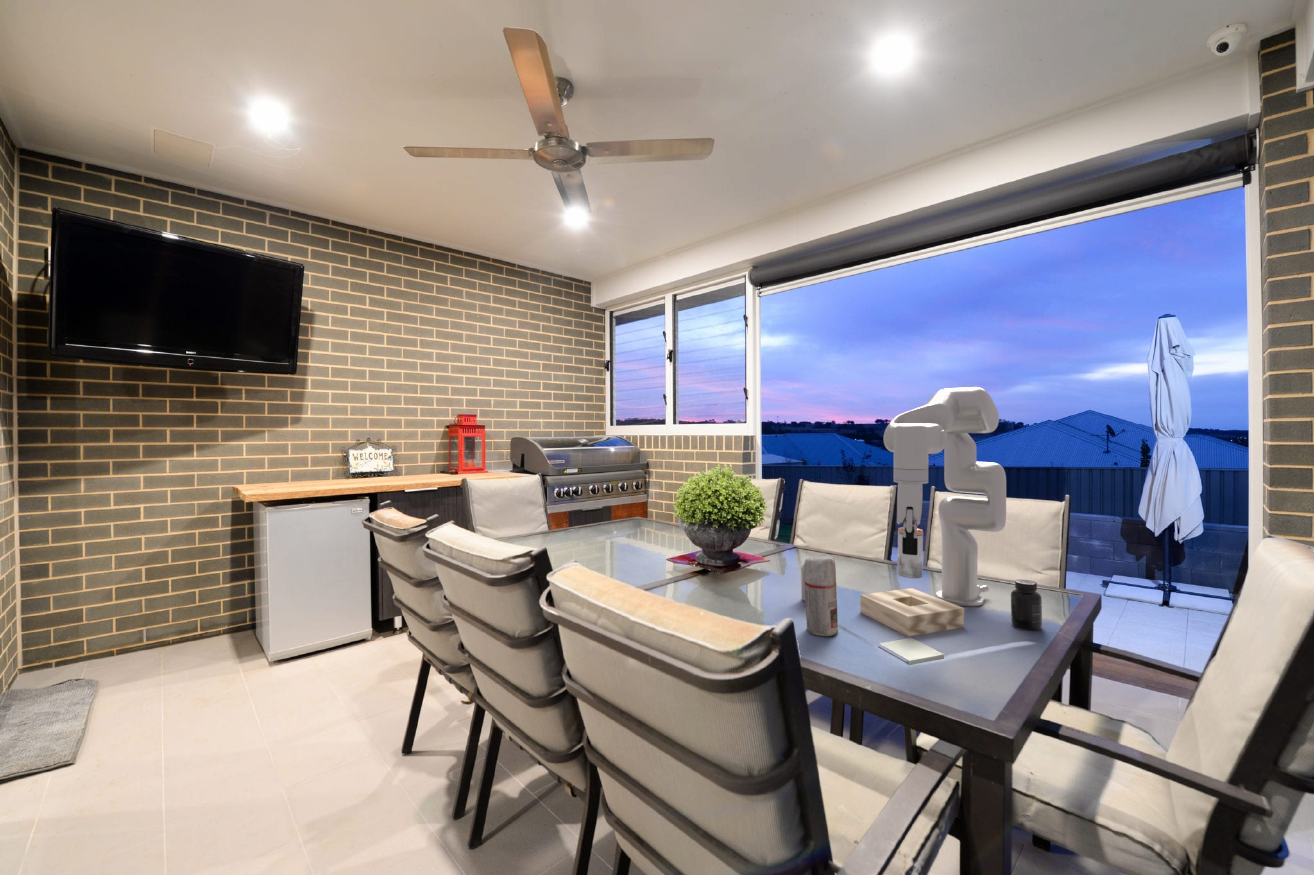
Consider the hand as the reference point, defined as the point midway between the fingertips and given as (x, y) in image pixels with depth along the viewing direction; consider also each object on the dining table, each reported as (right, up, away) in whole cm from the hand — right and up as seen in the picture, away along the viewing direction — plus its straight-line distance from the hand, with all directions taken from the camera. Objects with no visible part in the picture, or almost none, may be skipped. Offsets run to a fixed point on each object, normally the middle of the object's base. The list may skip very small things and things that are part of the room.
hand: (910, 550), depth 127 cm
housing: (+8, -23, +18) cm, 30 cm away
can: (-12, -23, +36) cm, 45 cm away
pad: (-1, -24, -1) cm, 24 cm away
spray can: (-17, -24, +12) cm, 32 cm away
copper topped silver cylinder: (0, -6, 0) cm, 6 cm away
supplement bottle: (+38, -23, +14) cm, 47 cm away
